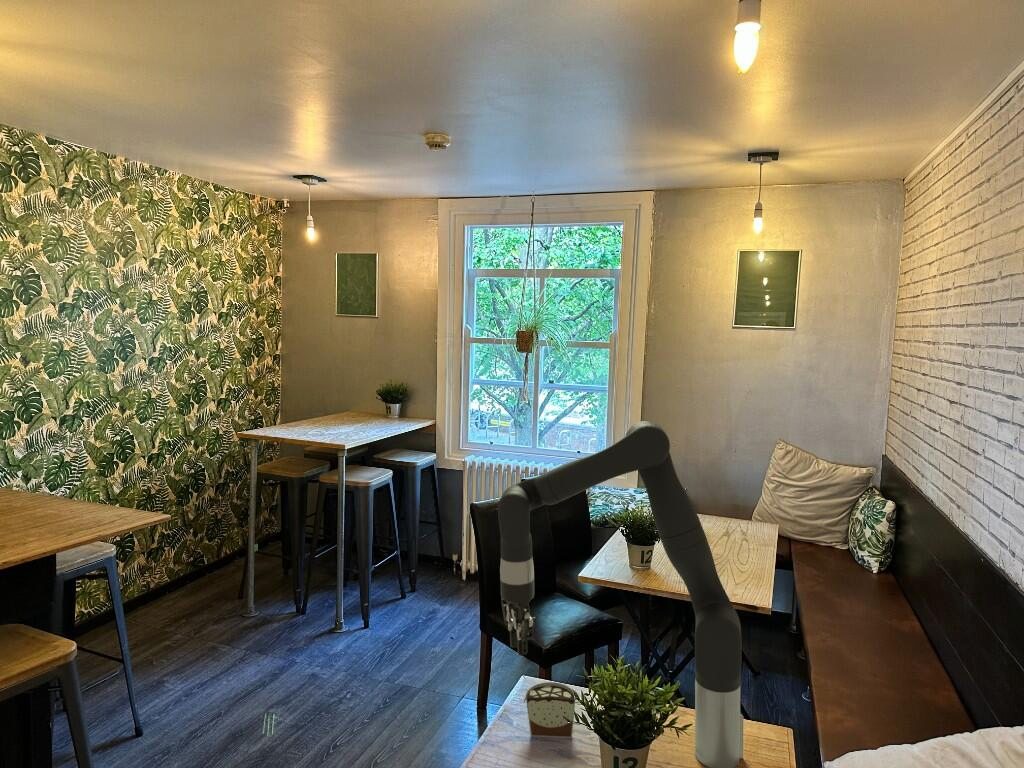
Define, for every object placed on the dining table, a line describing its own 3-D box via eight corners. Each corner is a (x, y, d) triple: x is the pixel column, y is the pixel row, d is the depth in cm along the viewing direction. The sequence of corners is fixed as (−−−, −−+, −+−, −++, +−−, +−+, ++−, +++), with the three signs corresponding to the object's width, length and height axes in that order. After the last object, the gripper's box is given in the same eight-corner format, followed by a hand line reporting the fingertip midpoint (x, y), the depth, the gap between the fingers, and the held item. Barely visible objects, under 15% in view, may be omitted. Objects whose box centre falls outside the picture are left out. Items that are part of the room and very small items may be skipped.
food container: (578, 721, 155) (577, 681, 154) (578, 738, 149) (577, 696, 148) (526, 719, 156) (525, 680, 155) (524, 736, 150) (523, 694, 149)
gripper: (547, 584, 141) (548, 660, 142) (518, 563, 153) (520, 633, 155) (515, 591, 137) (517, 669, 139) (489, 569, 150) (491, 640, 152)
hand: (518, 650), depth 147 cm, fingers open, 3 cm apart
